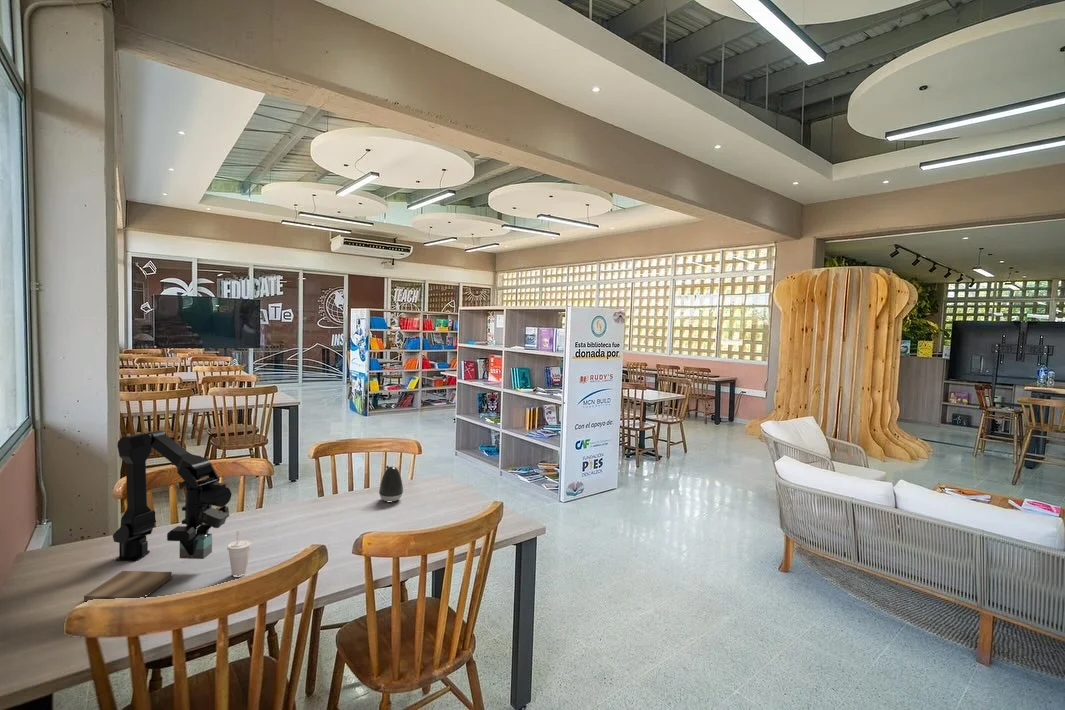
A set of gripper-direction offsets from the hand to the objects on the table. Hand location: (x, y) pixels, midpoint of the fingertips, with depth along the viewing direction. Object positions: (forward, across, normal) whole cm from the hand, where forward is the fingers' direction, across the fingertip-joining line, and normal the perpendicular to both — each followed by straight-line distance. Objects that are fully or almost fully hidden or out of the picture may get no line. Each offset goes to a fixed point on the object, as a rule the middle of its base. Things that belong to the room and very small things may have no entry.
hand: (195, 551), depth 158 cm
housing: (+1, 0, 0) cm, 1 cm away
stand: (+6, -12, +11) cm, 17 cm away
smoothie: (+6, -2, -14) cm, 15 cm away
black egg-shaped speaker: (+6, +66, -45) cm, 80 cm away
